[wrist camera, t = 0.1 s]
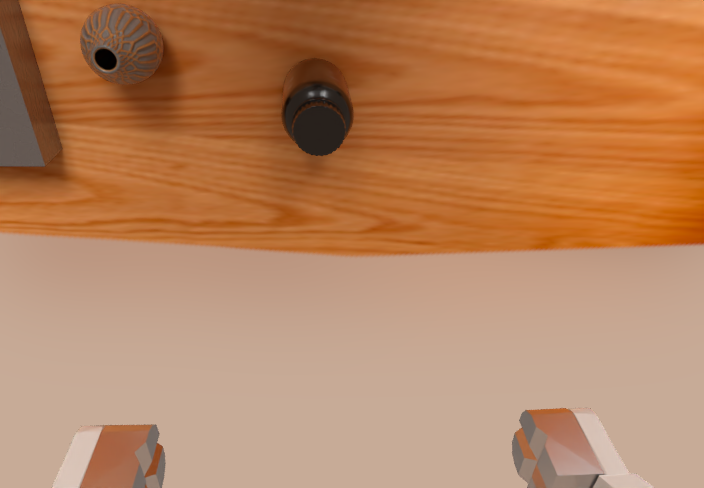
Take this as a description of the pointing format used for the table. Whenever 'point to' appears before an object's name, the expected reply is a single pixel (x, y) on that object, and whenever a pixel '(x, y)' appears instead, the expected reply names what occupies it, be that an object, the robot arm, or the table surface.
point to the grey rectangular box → (22, 97)
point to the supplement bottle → (316, 106)
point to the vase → (121, 44)
